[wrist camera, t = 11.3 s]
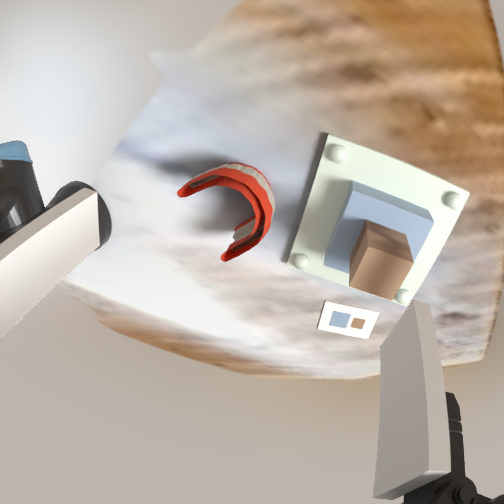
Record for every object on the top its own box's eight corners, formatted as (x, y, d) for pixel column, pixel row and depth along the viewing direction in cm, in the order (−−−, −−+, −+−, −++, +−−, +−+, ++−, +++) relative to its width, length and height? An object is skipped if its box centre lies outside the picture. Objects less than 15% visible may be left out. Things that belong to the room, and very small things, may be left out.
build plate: (287, 261, 53) (285, 269, 51) (328, 133, 40) (327, 136, 39) (406, 301, 51) (407, 310, 49) (467, 189, 38) (472, 195, 36)
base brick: (325, 250, 49) (323, 265, 45) (352, 180, 42) (353, 190, 39) (395, 275, 47) (397, 290, 44) (428, 210, 40) (434, 222, 37)
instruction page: (317, 328, 59) (317, 329, 59) (325, 300, 55) (325, 301, 55) (367, 338, 57) (367, 339, 57) (379, 311, 53) (379, 312, 53)
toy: (296, 213, 48) (286, 238, 42) (240, 237, 53) (224, 263, 47) (253, 140, 44) (235, 154, 38) (198, 172, 49) (174, 190, 42)
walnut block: (349, 255, 43) (348, 286, 38) (365, 219, 40) (368, 246, 34) (387, 269, 43) (391, 300, 37) (405, 234, 39) (414, 263, 34)
